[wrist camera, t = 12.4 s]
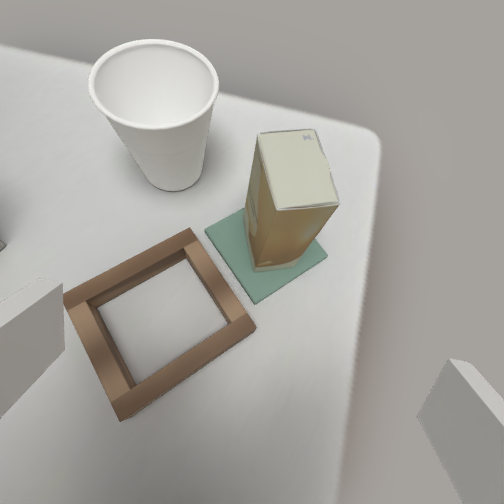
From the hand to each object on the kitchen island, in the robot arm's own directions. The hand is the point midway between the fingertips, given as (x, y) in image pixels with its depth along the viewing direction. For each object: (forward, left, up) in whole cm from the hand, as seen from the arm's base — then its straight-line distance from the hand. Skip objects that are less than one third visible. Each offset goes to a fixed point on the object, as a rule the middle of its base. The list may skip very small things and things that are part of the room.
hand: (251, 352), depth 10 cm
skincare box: (-8, +9, -17) cm, 21 cm away
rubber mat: (-8, +9, -17) cm, 21 cm away
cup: (-21, +6, -17) cm, 28 cm away
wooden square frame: (-7, -3, -17) cm, 19 cm away
